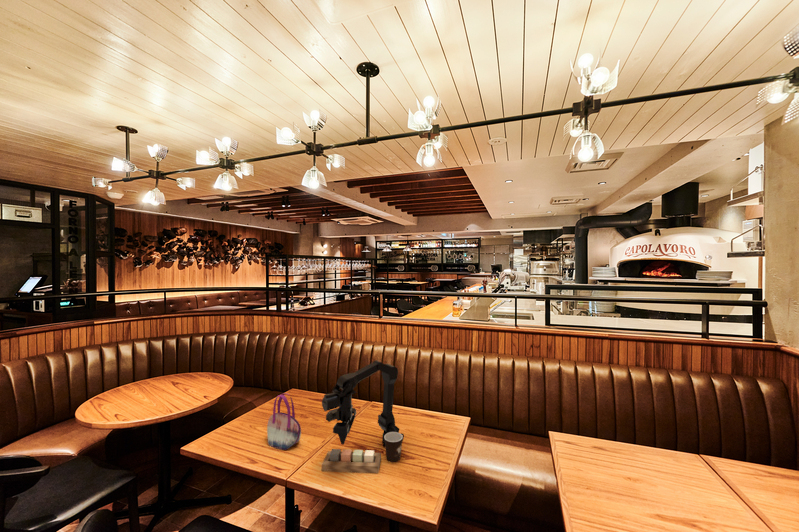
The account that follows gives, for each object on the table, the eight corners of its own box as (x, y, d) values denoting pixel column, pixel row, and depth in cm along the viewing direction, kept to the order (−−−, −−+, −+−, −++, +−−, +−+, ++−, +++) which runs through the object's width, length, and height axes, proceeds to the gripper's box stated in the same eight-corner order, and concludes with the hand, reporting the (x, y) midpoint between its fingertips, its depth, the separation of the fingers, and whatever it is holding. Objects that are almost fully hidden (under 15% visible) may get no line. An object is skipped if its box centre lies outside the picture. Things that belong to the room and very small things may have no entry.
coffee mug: (389, 466, 140) (389, 443, 140) (381, 455, 148) (381, 434, 148) (411, 458, 146) (411, 437, 146) (402, 449, 153) (402, 428, 153)
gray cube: (340, 457, 143) (340, 449, 143) (338, 463, 139) (338, 454, 139) (332, 457, 144) (332, 448, 144) (329, 463, 140) (329, 454, 140)
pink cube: (351, 458, 143) (351, 449, 143) (349, 463, 139) (349, 454, 139) (343, 458, 143) (343, 449, 143) (341, 463, 139) (341, 454, 139)
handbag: (260, 443, 158) (260, 394, 158) (275, 433, 167) (275, 387, 167) (292, 453, 150) (292, 401, 149) (306, 443, 159) (306, 394, 159)
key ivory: (374, 459, 142) (374, 450, 142) (373, 464, 138) (373, 455, 138) (365, 458, 143) (365, 450, 143) (364, 464, 139) (364, 455, 139)
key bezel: (381, 459, 145) (380, 452, 145) (378, 473, 135) (378, 466, 135) (328, 457, 147) (328, 451, 147) (321, 471, 137) (321, 464, 137)
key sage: (363, 458, 143) (363, 450, 143) (361, 464, 139) (361, 455, 139) (354, 458, 143) (354, 449, 143) (352, 463, 139) (352, 455, 139)
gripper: (334, 395, 152) (334, 427, 152) (321, 413, 134) (321, 449, 134) (356, 396, 151) (356, 428, 151) (346, 414, 133) (346, 451, 133)
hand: (345, 438), depth 142 cm, fingers open, 9 cm apart
